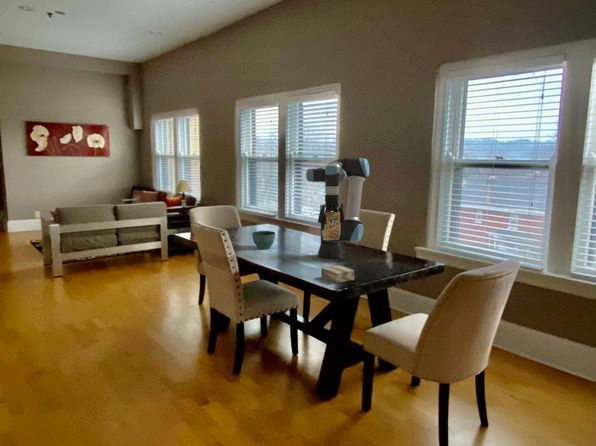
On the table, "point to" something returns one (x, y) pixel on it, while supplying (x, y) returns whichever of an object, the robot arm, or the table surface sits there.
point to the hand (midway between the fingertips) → (331, 235)
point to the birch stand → (337, 273)
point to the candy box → (332, 226)
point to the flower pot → (263, 239)
